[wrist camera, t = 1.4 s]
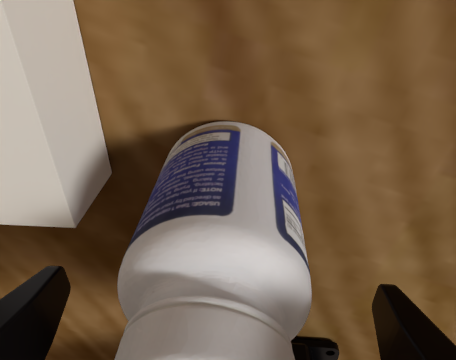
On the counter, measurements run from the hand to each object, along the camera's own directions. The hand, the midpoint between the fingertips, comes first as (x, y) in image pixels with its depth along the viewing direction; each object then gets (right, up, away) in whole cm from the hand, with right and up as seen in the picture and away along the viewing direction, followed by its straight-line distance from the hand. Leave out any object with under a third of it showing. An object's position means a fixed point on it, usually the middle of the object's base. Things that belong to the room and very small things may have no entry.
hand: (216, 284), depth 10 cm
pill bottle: (0, +3, +5) cm, 6 cm away
